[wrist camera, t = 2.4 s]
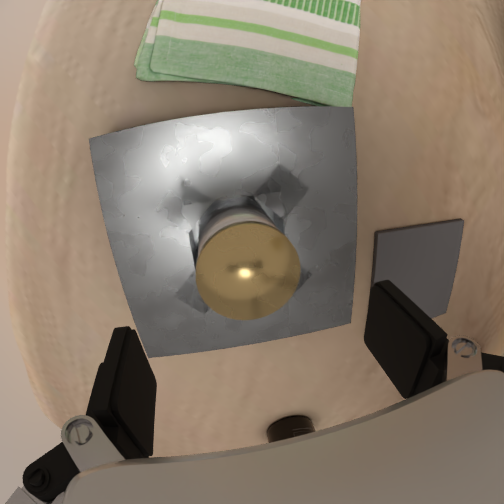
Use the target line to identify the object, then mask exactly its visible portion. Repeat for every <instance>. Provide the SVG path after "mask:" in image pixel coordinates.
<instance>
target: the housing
mask: <svg viewBox="0 0 504 504" xmlns="http://www.w3.org/2000/svg"><path fill="white" fill-rule="evenodd" d="M89 143H90V150H91V156H92V163H93V168H94V174H95V180H96V185H97V190H98V195H99V200H100V204H101V209H102V213H103V217H104V222H105V226H106V230H107V234H108V238H109V242H110V245H111V249H112V253H113V256H114V260H115V263H116V267H117V270H118V274H119V277H120V280H121V283H122V286H123V290H124V293H125V296H126V299H127V302H128V305H129V308H130V311H131V313H132V316H133V319H134V322H135V325H136V327H137V330H138V333H139V335H140V338H141V341H142V343H143V346H144V348H145V351H146V353H147V356H148V358H152V357H162V356H172V355H180V354H189V353H197V352H204V351H211V350H218V349H225V348H231V347H237V346H243V345H249V344H255V343H261V342H266V341H271V340H277V339H282V338H287V337H292V336H297V335H301V334H306V333H311V332H315V331H319V330H324V329H328V328H332V327H337V326H341V325H345V324H349V323H351V315H352V305H353V293H354V279H355V262H356V239H357V161H356V139H355V123H354V110H353V107H333V106H313V107H281V108H264V109H251V110H240V111H230V112H221V113H213V114H205V115H198V116H191V117H185V118H179V119H173V120H168V121H162V122H157V123H152V124H147V125H142V126H138V127H133V128H129V129H124V130H120V131H116V132H112V133H108V134H104V135H101V136H97V137H93V138H90V139H89ZM245 196H246V197H249V198H251V199H253V200H254V201H256V202H257V203H258V204H259V205H260V206H261V207H262V209H263V210H264V211H265V212H266V214H267V215H268V216H269V218H270V219H271V220H272V222H273V223H274V224H275V225H276V227H277V228H278V229H279V230H280V231H281V232H282V233H283V234H284V235H285V236H286V237H287V238H288V240H289V241H290V242H291V243H292V245H293V246H294V248H295V249H296V252H297V254H298V256H299V260H300V278H299V282H298V285H297V288H296V290H295V292H294V293H293V295H292V297H291V298H290V299H289V300H288V301H287V302H286V303H285V304H284V305H283V306H282V307H281V308H280V309H278V310H277V311H275V312H274V313H272V314H270V315H268V316H265V317H262V318H258V319H254V320H235V319H230V318H227V317H224V316H222V315H220V314H218V313H216V312H215V311H213V310H212V309H211V308H210V307H209V306H208V305H207V304H206V303H205V302H204V301H203V299H202V297H201V296H200V294H199V291H198V288H197V285H196V262H197V258H198V239H199V223H200V219H201V216H202V215H203V214H204V212H205V211H206V210H207V208H208V207H209V206H210V204H211V203H212V202H213V201H216V200H223V199H230V198H237V197H245Z"/></svg>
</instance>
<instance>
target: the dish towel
mask: <svg viewBox="0 0 504 504" xmlns="http://www.w3.org/2000/svg"><path fill="white" fill-rule="evenodd" d="M360 3H361V0H158V1H157V2H156V4H155V6H154V9H153V12H152V14H151V16H150V18H149V21H148V24H147V27H146V30H145V33H144V35H143V38H142V41H141V44H140V46H139V49H138V52H137V55H136V58H135V63H134V66H135V67H136V68H137V72H136V78H137V79H139V80H142V81H192V82H203V83H216V84H227V85H236V86H244V87H252V88H259V89H264V90H269V91H273V92H278V93H282V94H285V95H289V96H294V97H298V98H291V99H293V100H297V101H300V102H303V103H307V104H311V105H316V106H333V107H351V106H352V99H353V89H354V85H355V78H356V68H357V59H358V47H359V34H360ZM324 104H325V105H324Z"/></svg>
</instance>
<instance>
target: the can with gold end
mask: <svg viewBox="0 0 504 504" xmlns="http://www.w3.org/2000/svg"><path fill="white" fill-rule="evenodd" d="M299 278H300V260H299V256H298V254H297V252H296V249H295V248H294V246H293V245H292V243H291V242H290V241H289V240H288V238H287V237H286V236H285V235H284V234H283V233H282V232H281V231H280V230H279V229H278V228H277V227H276V225H275V224H274V223H273V222H272V220H271V219H270V218H269V216H268V215H267V214H266V212H265V211H264V210H263V209H262V207H261V206H260V205H259V204H258V203H257V202H256V201H254V200H253V199H251V198H249V197H246V196H245V197H237V198H230V199H223V200H216V201H213V202H212V203H211V204H210V206H209V207H208V208H207V210H206V211H205V212H204V214H203V215H202V216H201V219H200V223H199V239H198V258H197V262H196V285H197V288H198V291H199V294H200V296H201V297H202V299H203V301H204V302H205V303H206V304H207V305H208V306H209V307H210V308H211V309H212V310H213V311H215V312H216V313H218V314H220V315H222V316H224V317H227V318H230V319H235V320H254V319H258V318H262V317H265V316H268V315H270V314H272V313H274V312H275V311H277V310H278V309H280V308H281V307H282V306H283V305H284V304H285V303H286V302H287V301H288V300H289V299H290V298H291V297H292V295H293V293H294V292H295V290H296V288H297V285H298V282H299Z"/></svg>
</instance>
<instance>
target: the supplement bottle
mask: <svg viewBox="0 0 504 504" xmlns="http://www.w3.org/2000/svg"><path fill="white" fill-rule="evenodd" d="M312 432H316V431H315V429H314V426H313V424H312V422H311V420H309V419H308V418H306V417H301V416H294V417H288V418H285V419H282V420H280V421H278V422H276V423H274V424H273V425H272V426H271V427H270V428H269V430H268V432H267V438H268V442H269V443H271V442H276V441H280V440H285V439H289V438H293V437H297V436H301V435H305V434H309V433H312Z"/></svg>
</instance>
